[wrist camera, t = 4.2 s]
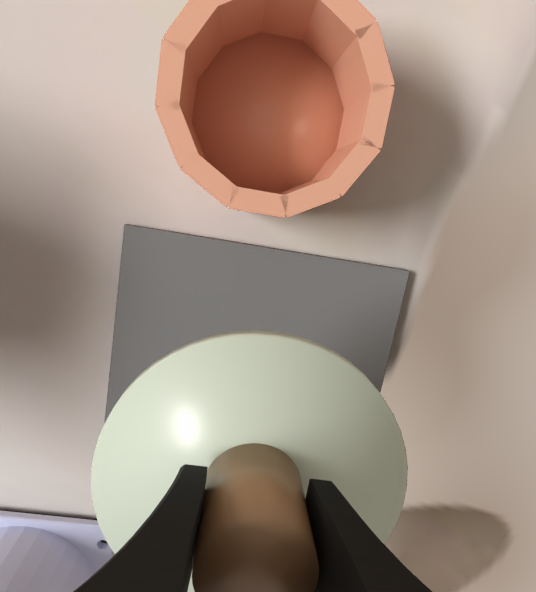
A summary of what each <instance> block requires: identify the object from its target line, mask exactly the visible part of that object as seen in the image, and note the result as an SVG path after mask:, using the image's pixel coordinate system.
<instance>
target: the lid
mask: <svg viewBox="0 0 536 592" xmlns="http://www.w3.org/2000/svg"><path fill="white" fill-rule="evenodd" d="M185 464H188V465H196V466H205V467H208V468H207V479H206V486H205V493H204V499H203V505H202V511H201V518H200V522H199V527H198V532H197V537H196V545H195V553H194V560H193V568H192V573H191V578H190V582H189V587H188V591H187V592H314V591H315V588H316V586H317V583H318V578H319V563H318V558H317V553H316V548H315V544H314V539H313V534H312V529H311V525H310V520H309V515H308V510H307V506H306V501H305V499H306V494H307V489H308V485H309V480H310V479H319V480H327V481H332V482H333V483H334V485H335V486H336V487H337V488H338V490H339V491H340V492H341V493H342V495H343V496H344V497H345V498H346V500H347V501H348V502H349V503H350V505H351V506H352V507H353V508H354V510H355V511H356V512H357V513H358V515H359V516H360V517H361V518H362V520H363V521H364V522H365V523H366V524H367V525H368V527H369V528H370V529H371V530H372V531H373V533H374V534H375V535H376V536H377V537H378V538H379V539H380V540H381V542H382V543H383V544H385V543H386V541H387V540H388V538H389V537H390V535H391V533H392V531H393V529H394V527H395V525H396V523H397V521H398V519H399V515H400V512H401V509H402V506H403V503H404V498H405V492H406V487H407V469H408V467H407V458H406V449H405V445H404V441H403V438H402V434H401V430H400V428H399V426H398V424H397V421H396V419H395V417H394V414H393V413H392V411H391V410H390V408H389V406H388V405H387V403H386V402H385V400H384V399H383V397H382V395H381V394H380V393H379V391H378V390H377V388H376V387H375V386H374V385H373V384H372V382H371V381H370V380H369V379H368V378H367V377H366V375H365V374H364V373H363V372H361V371H360V370H359V369H358V368H357V367H356V366H355V365H354V364H352V363H351V362H350V361H349V360H347V359H346V358H344V357H343V356H341V355H340V354H338V353H337V352H335V351H333V350H331V349H329V348H327V347H325V346H323V345H321V344H319V343H317V342H314V341H311V340H308V339H305V338H302V337H299V336H296V335H292V334H286V333H281V332H276V331H262V330H246V331H232V332H226V333H221V334H216V335H211V336H208V337H205V338H201V339H198V340H195V341H192V342H190V343H188V344H185V345H183V346H181V347H179V348H177V349H175V350H173V351H171V352H169V353H168V354H166V355H165V356H163V357H161V358H160V359H158V360H157V361H155V362H154V363H153V364H151V365H150V366H149V367H148V368H147V369H146V370H144V371H143V372H142V373H141V374H140V375H138V377H137V378H136V379H135V380H134V381H133V382H132V383H131V384H130V385H129V387H128V388H127V389H126V390H125V391H124V393H123V394H122V396H121V397H120V399H119V400H118V402H117V403H116V405H115V406H114V408H113V409H112V411H111V413H110V415H109V416H108V418H107V420H106V422H105V424H104V426H103V429H102V431H101V433H100V435H99V438H98V441H97V444H96V448H95V451H94V455H93V462H92V468H91V494H92V501H93V507H94V511H95V514H96V517H97V521H98V524H99V527H100V529H101V531H102V533H103V535H104V537H105V539H106V541H107V543H108V545H109V546H110V548H111V549H112V551H113V552H114V554H116V553H117V552H118V551H119V550H120V549H121V548H122V547H123V546H124V545H125V544H126V543H127V541H128V540H129V539H130V538H131V537H132V536H133V535H134V534H135V532H136V531H137V530H138V529H139V528H140V527H141V525H142V524H143V523H144V522H145V521H146V519H147V518H148V517H149V516H150V515H151V513H152V512H153V511H154V509H155V508H156V507H157V505H158V504H159V502H160V501H161V500H162V498H163V497H164V496H165V494H166V493H167V491H168V489H169V488H170V486H171V485H172V483H173V481H174V480H175V478H176V476H177V474H178V472H179V469H180V467H182V466H183V465H185Z"/></svg>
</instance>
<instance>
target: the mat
mask: <svg viewBox="0 0 536 592" xmlns="http://www.w3.org/2000/svg"><path fill="white" fill-rule="evenodd" d="M409 272H410V271H408V270H404V269H398V268H392V267H386V266H380V265H374V264H367V263H361V262H355V261H349V260H343V259H337V258H331V257H325V256H319V255H313V254H306V253H300V252H294V251H288V250H282V249H276V248H270V247H264V246H258V245H251V244H245V243H239V242H233V241H227V240H221V239H215V238H209V237H203V236H197V235H190V234H184V233H178V232H172V231H166V230H160V229H154V228H148V227H142V226H136V225H129V224H126V225H124V234H123V244H122V254H121V264H120V275H119V285H118V295H117V305H116V315H115V325H114V335H113V345H112V355H111V365H110V375H109V385H108V395H107V405H106V415H105V422H106V420H107V418H108V416H109V415H110V413H111V411H112V409H113V408H114V406H115V405H116V403H117V402H118V400H119V399H120V397H121V396H122V394H123V393H124V391H125V390H126V389H127V388H128V387H129V385H130V384H131V383H132V382H133V381H134V380H135V379H136V378H137V377H138V375H140V374H141V373H142V372H143V371H144V370H146V369H147V368H148V367H149V366H150V365H151V364H153V363H154V362H155V361H157V360H158V359H160V358H161V357H163V356H165V355H166V354H168V353H169V352H171V351H173V350H175V349H177V348H179V347H181V346H183V345H185V344H188V343H190V342H192V341H195V340H198V339H201V338H205V337H208V336H211V335H216V334H221V333H226V332H232V331H246V330H262V331H276V332H281V333H286V334H292V335H296V336H299V337H302V338H305V339H308V340H311V341H314V342H317V343H319V344H321V345H323V346H325V347H327V348H329V349H331V350H333V351H335V352H337V353H338V354H340V355H341V356H343V357H344V358H346V359H347V360H349V361H350V362H351V363H352V364H354V365H355V366H356V367H357V368H358V369H359V370H360V371H361V372H363V373H364V374H365V375H366V377H367V378H368V379H369V380H370V381H371V382H372V384H373V385H374V386H375V387H376V388H377V390H378V391H379V393H380V391H381V387H382V383H383V379H384V375H385V371H386V367H387V363H388V358H389V354H390V350H391V346H392V342H393V338H394V334H395V330H396V325H397V321H398V317H399V313H400V309H401V305H402V301H403V297H404V292H405V288H406V284H407V280H408V276H409Z"/></svg>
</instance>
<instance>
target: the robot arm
mask: <svg viewBox="0 0 536 592" xmlns="http://www.w3.org/2000/svg"><path fill="white" fill-rule="evenodd" d="M207 468H208V467H205V466H196V465H188V464H185V465H183V466H182V467H180V469H179V472H178V474H177V476H176V478H175V480H174V481H173V483H172V485H171V486H170V488H169V489H168V491H167V493H166V494H165V496H164V497H163V498H162V500H161V501H160V502H159V504H158V505H157V507H156V508H155V509H154V511H153V512H152V513H151V515H150V516H149V517H148V518H147V519H146V521H145V522H144V523H143V524H142V525H141V527H140V528H139V529H138V530H137V531H136V532H135V534H134V535H133V536H132V537H131V538H130V539H129V540H128V541H127V543H126V544H125V545H124V546H123V547H122V548H121V549H120V550H119V551H118V552H117V553H116V554H115V555H114V552H113V551H112V549H111V548H110V546H109V545H108V543H102V542H101V541H100V540H105V541H106V539H105V537H104V535H103V533H102V531H101V529H100V527H99V524H98V521H97V520H89V519H79V518H69V517H59V516H49V515H39V514H29V513H19V512H9V511H0V592H187V591H188V587H189V582H190V578H191V573H192V568H193V560H194V553H195V545H196V537H197V532H198V527H199V522H200V518H201V511H202V505H203V499H204V493H205V486H206V479H207ZM305 501H306V506H307V510H308V515H309V520H310V525H311V529H312V534H313V539H314V544H315V548H316V553H317V558H318V563H319V578H318V583H317V586H316V588H315V591H314V592H432V591H431V590H430V589H429V588H428V587H426V586H425V585H424V584H423V583H422V582H421V581H420V580H419V579H418V578H417V577H415V576H414V575H413V574H412V573H411V572H410V571H409V570H408V569H407V568H406V567H405V566H404V565H403V564H402V563H401V562H400V561H399V560H398V559H397V558H396V557H395V556H394V554H393V553H392V552H391V551H390V550H389V549H388V548H387V547H386V546H385V545H384V544H383V543H382V542H381V540H380V539H379V538H378V537H377V536H376V535H375V534H374V533H373V531H372V530H371V529H370V528H369V527H368V525H367V524H366V523H365V522H364V521H363V520H362V518H361V517H360V516H359V515H358V513H357V512H356V511H355V510H354V508H353V507H352V506H351V505H350V503H349V502H348V501H347V500H346V498H345V497H344V496H343V495H342V493H341V492H340V491H339V490H338V488H337V487H336V486H335V485H334V483H333V482H332V481H327V480H319V479H310V480H309V485H308V489H307V494H306V499H305ZM106 542H107V541H106Z"/></svg>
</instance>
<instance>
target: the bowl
mask: <svg viewBox="0 0 536 592" xmlns="http://www.w3.org/2000/svg"><path fill="white" fill-rule="evenodd" d="M375 20H376V18H375V17H374V16H373V15H372V14H371V13H370V12H369V11H368V10H367V9H366V8H365V7H364V6H363V5H362V4H361V3H360V2H359V1H358V0H189V1H188V3H187V4H186V5H185V7H184V8H183V10H182V11H181V12H180V14H179V15H178V17H177V18H176V19H175V21H174V22H173V23H172V25H171V26H170V28H169V29H168V30H167V32H166V33H165V35H164V36H163V38H164V40H163V39H162V43H161V52H160V62H159V71H158V80H157V89H156V99H155V106H156V108H155V109H156V111H157V114H158V116H159V119H160V121H161V124H162V126H163V129H164V131H165V134H166V136H167V139H168V141H169V144H170V146H171V149H172V151H173V154H174V156H175V159H176V161H177V163H178V166H179V167H180V168H181V170H182V171H183V172H184V173H186V174H187V175H188V176H189V177H190V178H192V179H193V180H194V181H195V182H197V183H198V184H199V185H200V186H201V187H203V188H204V189H205V190H206V191H207V192H209V193H210V194H211V195H212V196H213V197H215V198H216V199H217V200H218V201H220V202H221V203H222V204H223V205H224V206H226V207H227V206H228V205H229V209H235V210H241V211H247V212H253V213H259V214H265V215H270V216H276V217H282V218H285V217H287V218H288V217H291V216H293V215H296V214H299V213H301V212H304V211H306V210H309V209H312V208H314V207H317V206H320V205H322V204H325V203H328V202H330V201H333V200H336V199H338V198H340V196H343V195H344V194H345V193H346V191H347V190H348V189H349V188H350V187H351V185H352V184H353V183H354V182H355V181H356V179H357V178H358V177H359V176H360V175H361V173H362V172H363V171H364V170H365V169H366V168H367V166H368V165H369V164H370V163H371V162H372V160H373V159H374V158H375V157H376V156H377V154H378V153H379V152H380V150H379V149H381V148H382V145H383V140H384V136H385V131H386V126H387V122H388V117H389V112H390V108H391V103H392V99H393V94H394V89H395V87H393V85H395V83H394V79H393V75H392V72H391V68H390V65H389V61H388V57H387V54H386V50H385V46H384V43H383V39H382V35H381V32H380V28H379V24H378V22H375ZM374 22H375V23H374Z"/></svg>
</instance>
